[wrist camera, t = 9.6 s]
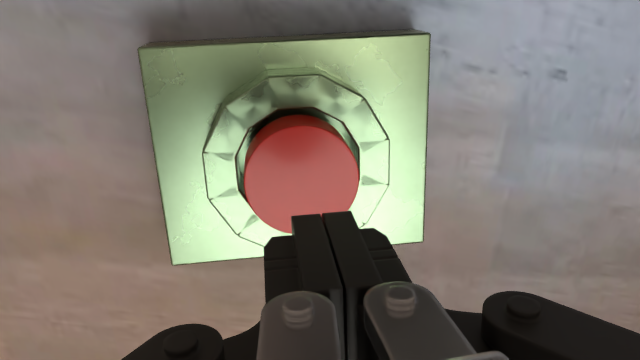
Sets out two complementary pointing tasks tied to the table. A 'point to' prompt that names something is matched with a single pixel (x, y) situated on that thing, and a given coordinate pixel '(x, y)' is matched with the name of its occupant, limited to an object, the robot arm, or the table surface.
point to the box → (275, 102)
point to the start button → (299, 171)
